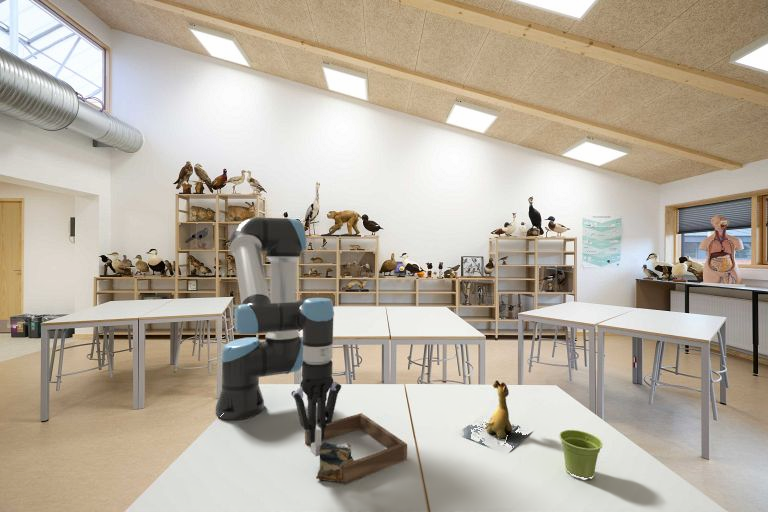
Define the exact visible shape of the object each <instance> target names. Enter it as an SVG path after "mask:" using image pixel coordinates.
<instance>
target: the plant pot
mask: <svg viewBox="0 0 768 512" xmlns="http://www.w3.org/2000/svg"><path fill="white" fill-rule="evenodd" d="M558 436H559V439H560V441H561V445H562V449H563V455H564V464H565V465H564V466H565V470H566V469H567V471H569V472H570V473H571V474H574V475H576V476H579V477H584V478H589V477H592V476H594V475H595V470H596V466H597V462H598V458H599V457H598V455H599V453H600V451H601V449H602V448H603V441H601V439H600V438H598V437H597V436H595V435H593V434H591V433H589V432H586V431H583V430H579V429H577V430H575V429H565V430H562V431H561V432H560V433H559V435H558ZM567 471H566V472H567Z"/></svg>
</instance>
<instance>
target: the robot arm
mask: <svg viewBox="0 0 768 512" xmlns="http://www.w3.org/2000/svg"><path fill="white" fill-rule="evenodd" d="M306 246H307V236H306V230H305V227H304V225H303V223H302V222H301V221H300V220H299V219H295V218H294V219H292V218H281V217H262V216H261V217H259V216H257V217H250V218H247V219H245V220H243V221H242V222H241V223H239V224H238V225H237V226H236V227H235V228H234V230H233V232H232V233H231V235H230V238H229V250H230V253H231V254H232V256H233V257H234V261H235V269H236V276H237V283H238V290H239V297H240V304H238V305H236V306H235V309H234V329H235V332H236V334H238V335H257V334H265V333H266V334H265V336H264V337H265V340H264V341H260V339H259V338H258V337H253V336H252V337H243V338H237V339H234V340H231V341H230V342H227V343H226V344H225V345H224V346H223V347H222V350H221V358H220V361H221V390H220V393H219V396H218V398H217V402H216V404H215V416H216V417H217V418H219V417H220V416H221V415H222V414H223V413H224V414H223V415H222V416H221V417H220V418H219V419H221V420H226V421H227V420H228V421H236V420H243V419H244V420H245V419H248V418H253V417H255V416H257V415H259V414H260V413H262V411H264V408H265V401H264V397H263V394H262V391H261V388H260V383H259V381H260V378H261V377H271V376H278V375H284V374H285V375H289V374H291V373H295V372H299V371H300V370H301V382H300V384H299V388H298V389H297V390H292V391H291V397H292V398H293V399H294V400H295V406H296V410H297V414H298V418H299V423H300V426H301V427H302V429H304V431H305V430H308V440H309V441H310V442H311V444H310V452H311V453H312V455H313V456H314V457H315V458H316V457H320V446H321V445H322V441H324V440H323V439H324V429H326V427H327V426H326V425H327V424H330V423H331V422H332V421H333V417H334V412H335V408H336V404H337V399H338V395H339V393H340V391H341V389H342V384H339V382H337V381H334V378H333V361H332V359H333V353H334V351H333V350H334V349H333V348H334V347H333V345H334V338H333V337H334V316H335V312H334V302H333V300H332V299H330V298H327V297H326V298H325V297H310V298H306V299H299V300H297V301H296V299H297V298H296V294H297V293H296V292H297V291H296V290H297V289H296V288H297V286H296V285H297V284H296V283H297V282H296V281H297V274H296V273H297V261H298V260H299V259H301V254H302V253H304V252H305V251H306V249H307V247H306ZM262 252H263V253H264V252H265V257H266V259H267V260H268V261H269V262H270V284H269V285H270V291H269V288H268V283H267V278H266V277H267V276H266V273H265V267H264V265H263V259H262V255H261V253H262ZM301 330H302V337H300V332H299V331H301ZM304 394H305V396H306V399H307V409H306V406H305V402H304V399H303V398H304ZM306 410H307V411H306ZM321 440H322V441H321Z"/></svg>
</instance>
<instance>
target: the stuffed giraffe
mask: <svg viewBox="0 0 768 512" xmlns="http://www.w3.org/2000/svg"><path fill="white" fill-rule="evenodd" d="M492 387H493V388H494V389H497V396H498V404H497V405H498V407H496V410H495V411H494V413H493V414H492V415H491V417H490V418H489V420H488V421H489V423H486V422H485V423H486V424H485V425H486V427H485V428H484V430H486V432H487V434H488V435H490V434H491V436H494V435H496V436H495V437H496V438H497V439H498V438H499V439H498V440H501V439H505V440H506V437H507V440H506V443H508V444H509V445H511V446H512V448H513V446H514V447H515V448H517V446H518V445H519V444H520V443H521V442H522V441H523V440H524V439H525V438H526V437H528V436H529V435H527V434H526V435H522V433H521V432H520V433H519V432H517V433H516V432H515V431H516V430H517V429H518V427H520V426H519V425H518V424H517V426H514V425H515V424H512V423H511V422H510V416H509V415H510V414H509V413H510V412H509V409H508V405H507V404H508V403H507V397H508V396H509V394H510V392H509V389H508V386H507V384H506V383H505V382H504V381H502V382H500V381H499V380H494V382H493V383H492ZM511 424H512V425H511ZM482 425H483V424H482ZM482 425H481V426H482ZM478 427H480V426H478ZM478 427H477V425H475V426H472V427H471V426H470V424H469V425H467V426H465V427H464V428H463V429H462V431H463V434H462V436H461V437H462V438H464V439H468V440H471V441H472V439H471V434H472V432H471V429H472V430H473V429H474V428H478ZM480 428H482V427H480ZM480 428H479V429H480ZM474 430H475V429H474ZM481 430H482V429H481ZM475 431H480V430H478V429H476V430H475ZM480 432H481V431H480ZM507 435H508V436H507ZM479 442H480V443H479V444H480V445H483V446H485V447H487V446H486V445H485V444H486V443H485V444H484V443H482V442H483V441H482V440H481V439H480V441H479ZM506 443H504V444H506Z"/></svg>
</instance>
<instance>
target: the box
mask: <svg viewBox="0 0 768 512" xmlns="http://www.w3.org/2000/svg"><path fill="white" fill-rule="evenodd" d="M326 426H327V427H326V429H324V439H323V440H321V442H322V441H324V440H328V439H331V438H334V437H337V436H340V435H344V434H347V433H350V432H354V431H357V430H359V429H360V430H362V431H363V432H364V433H366V434H367V435H369V437H371V438H372V439H374V440H375V441H376V442H378V443H379V444H380V445H381V446H383V447H384V448H385V449H382V450H380V451H377V452H375V453H374V452H373V453H371V454H369V455H366V456H364V457H363V456H362V457H361V458H359V459H355V460H354V461H352V462H350V463H347V464H344V465H343V474H342V482H341V483H342V484H344V485H348V484H350V483H352V482H355V481H357V480H359V479H362V478H365V477H367V476H370V475H372V474H375V473H377V472H380V471H382V470H384V469H387V468H390V467H391V466H392V467H393V466H394V465H397V464H399V463H401V462H404V461H407V460H408V443H407V442H405V441H404V440H402V439H400V438H399V437H397V436H396V435H395V434H393V433H392V432H390V431H389V430H387V429H386V428H384V427H383V426H381V425H380V424H378V423H377V422H375V420H373V419H371V418H370V417H368V416H367V415H365V414H363V412H362V413H361V412H360V413H357V414H354V415H350V416H346V417H343V418H340V419H336V420H332V422H331V423H330V424H327V425H326ZM304 431H305V432H304V433H305V434H304V442H305V445H306V446H309V445H311V442H310V441H309V440H308V430H305V429H304Z"/></svg>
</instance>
